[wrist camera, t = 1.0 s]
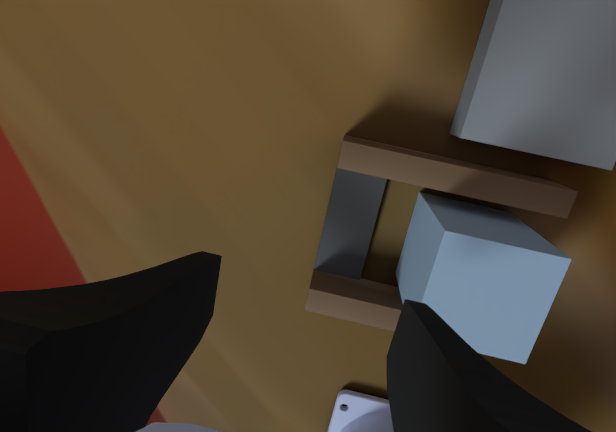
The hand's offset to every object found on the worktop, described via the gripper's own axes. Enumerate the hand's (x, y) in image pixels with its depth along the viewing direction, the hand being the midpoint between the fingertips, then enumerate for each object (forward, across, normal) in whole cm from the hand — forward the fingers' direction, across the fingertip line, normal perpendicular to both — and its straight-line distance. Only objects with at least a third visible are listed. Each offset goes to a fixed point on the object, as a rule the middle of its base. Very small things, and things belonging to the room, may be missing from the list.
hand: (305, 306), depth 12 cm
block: (+10, -6, 0) cm, 12 cm away
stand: (+9, -8, -8) cm, 15 cm away
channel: (+9, -5, 0) cm, 11 cm away
